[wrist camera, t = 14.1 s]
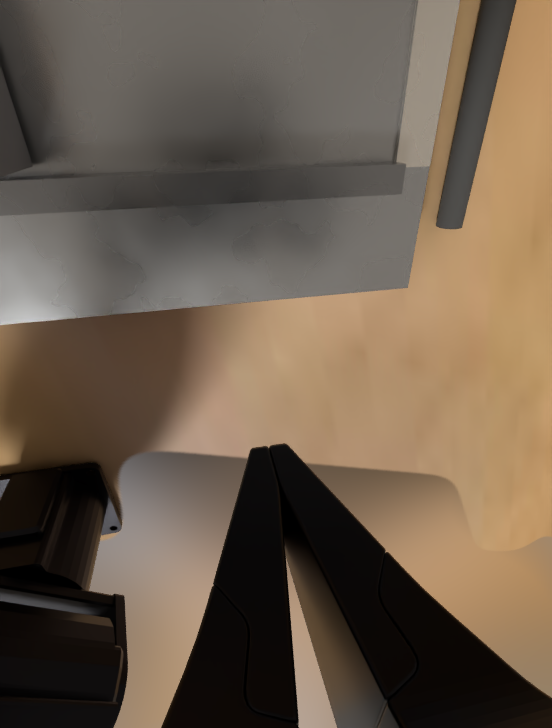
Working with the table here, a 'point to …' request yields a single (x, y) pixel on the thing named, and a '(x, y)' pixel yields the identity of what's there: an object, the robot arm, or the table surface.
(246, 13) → the panel
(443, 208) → the dark grey rod
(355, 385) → the table surface
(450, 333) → the table surface
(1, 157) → the toggle
